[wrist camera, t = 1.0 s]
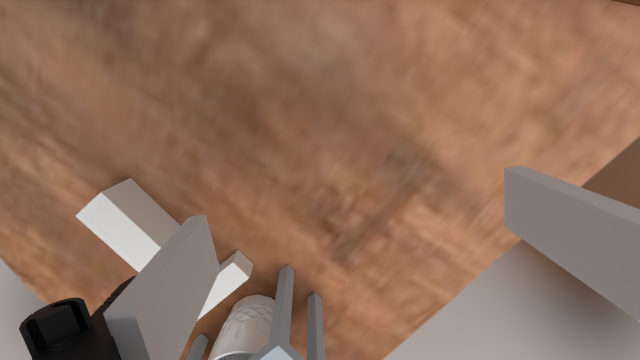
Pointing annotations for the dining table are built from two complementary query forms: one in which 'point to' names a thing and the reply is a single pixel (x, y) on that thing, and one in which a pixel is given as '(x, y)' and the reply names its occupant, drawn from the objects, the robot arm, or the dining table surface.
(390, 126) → the dining table surface
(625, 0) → the diary
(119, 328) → the robot arm
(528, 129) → the dining table surface
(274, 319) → the bridge
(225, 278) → the white l-shaped block
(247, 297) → the white cup
